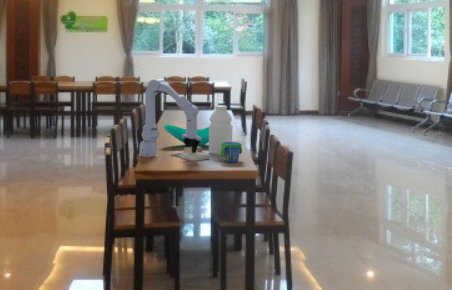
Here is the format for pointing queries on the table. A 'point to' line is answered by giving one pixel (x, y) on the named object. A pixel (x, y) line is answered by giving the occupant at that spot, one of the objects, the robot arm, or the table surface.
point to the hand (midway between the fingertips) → (191, 152)
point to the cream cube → (190, 151)
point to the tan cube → (199, 149)
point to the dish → (195, 156)
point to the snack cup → (231, 151)
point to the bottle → (219, 129)
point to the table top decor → (179, 131)
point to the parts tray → (179, 154)
